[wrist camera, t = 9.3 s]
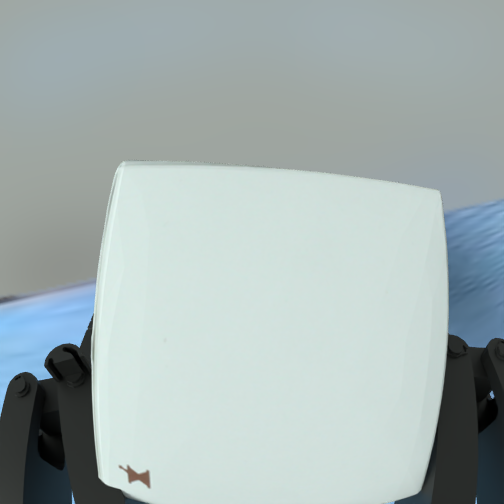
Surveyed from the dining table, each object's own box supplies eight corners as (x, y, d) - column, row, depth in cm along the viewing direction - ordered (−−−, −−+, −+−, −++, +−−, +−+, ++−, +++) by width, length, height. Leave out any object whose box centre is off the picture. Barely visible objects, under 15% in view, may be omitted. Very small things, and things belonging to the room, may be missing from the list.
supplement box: (313, 392, 17) (423, 504, 4) (187, 384, 17) (87, 495, 4) (322, 269, 18) (450, 185, 6) (197, 260, 18) (108, 153, 6)
